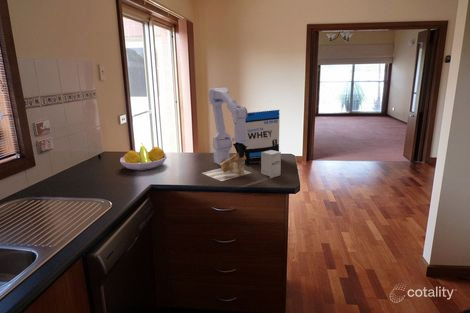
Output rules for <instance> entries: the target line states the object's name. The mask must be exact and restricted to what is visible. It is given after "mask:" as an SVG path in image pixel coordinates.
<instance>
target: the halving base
mask: <svg viewBox="0 0 470 313" xmlns="http://www.w3.org/2000/svg"><path fill="white" fill-rule="evenodd" d="M224 161H225V159H221V163H222V162H224ZM232 165H233V168H232V169H230V170H229V171H227V172H226V173H224V172H223V170H222V168H220V167H219V168H217V169H212V170H208V171H205V172H204V171H203V172H201V174H203V175H205V176H206V177H210V178H212V179H215V180H217V181H220V182H224V181H226V180H228V181H229V180H232V179H234V178H237V177H242V176H245V175H248V174H252V173H253V172H251V171H248V170H245V164H237V163H236V161H234V162H232Z"/></svg>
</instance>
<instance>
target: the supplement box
mask: <svg viewBox="0 0 470 313" xmlns="http://www.w3.org/2000/svg"><path fill="white" fill-rule="evenodd" d="M281 160H282V152H281V151H279V152H278V151H273V150H269V151H265V152H261V164H260V168H261V170H260V171H261V172H260V174H262V175H263V176H267V178H268V179H273V178H275V177H276V178H277V177H279V176H281V172H282V171H281V165H282V164H281V163H282V162H281Z"/></svg>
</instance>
